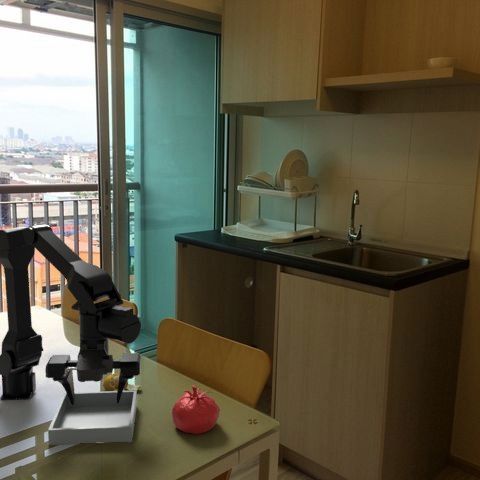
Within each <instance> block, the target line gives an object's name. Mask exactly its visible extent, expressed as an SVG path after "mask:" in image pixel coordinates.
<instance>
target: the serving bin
mask: <svg viewBox="0 0 480 480" xmlns="http://www.w3.org/2000/svg"><path fill="white" fill-rule="evenodd" d="M74 392H75V403H74V405H72V404H71V402H70V400H69V398H68V395H67V393H66V392H63V394H62V397H61V399H60V401H59V404H58V406H57V409H56V410H55V413H54V416H53V417H52V421H51V422H50V425H49V427H48V430H47V431H48V433H47V434H48V435H47V436H48V437H47V438H48V446H60V445H61V446H62V444H68V445H81V444H80V443H96V442H110V443H109V444H112V443H111V442H128V443H133V439H132V438H133V437H134V431H135V424H134V423H135V422H136V415H137V406H138V393H137V392H138V390H125V391H123V392H122V395H121V398H120V401H119V403H117V391H82V392H81V391H79V392H77V391H74ZM78 443H79V444H78Z"/></svg>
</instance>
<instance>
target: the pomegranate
mask: <svg viewBox="0 0 480 480" xmlns="http://www.w3.org/2000/svg"><path fill="white" fill-rule="evenodd" d="M191 389H192V391H190V390H186V389H182V391H183V392H184V394H183V395H181V396H180V397H179V398H178V399H177V401H175V402H174V405H173V407H172V412H171V416H172V422H173V425H174V426H175V427H176V429H178V430H179V431H182V432H183V433H187V434H188V433H189V434H193V435H200V434H204V433H206V432H209V431H210V430H211V429H213V428H214V427H215V426H216V425H217V422H218V419H219V418H220V410H221V409H220V406H219V405H218V404H217V403H216V401H215V400H214V399H213V398H212V397H210V396H209V395H207V394H206V393H211V394H212V393H213V391H204V392H199V391H200V390H201V388H200V387H197V386H196V385H195V384H194V385H192V386H191Z"/></svg>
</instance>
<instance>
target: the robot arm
mask: <svg viewBox="0 0 480 480" xmlns="http://www.w3.org/2000/svg"><path fill="white" fill-rule="evenodd" d="M36 250H37V251H38V253H40V255H42V256H43V257H44V259H45V260H47V261H48V262H49V263H50V264H51V265H52V267H54V268H55V269H56V270H57V271H58V272H59V273H60V274H61V275H62V276H63V277H64V278H65V280H66V285H67V289H68V290H69V292H70V294H72V297H74V299H75V301H76V302H75V303H74V304H72V306H71V309H72V310H73V311H78V314H79V315H78V319H79V351H78V355H77V360H76V359H75V360H73V359H71V355H70V354H52V356H51V357H50V358H49V359H48V361H47V363H46V365H45V370H44V371H45V378H47V379H52V380H53V382H58V383H59V384H61V386H62V388H63V389H64V390H65V393H67V395H68V398H69V400H70V402H71V404H72V405H74V403H75V392H76V391H75V383H74V374H73V373H74V372H73V371H76V376H77V381H78V382H80V383H85V382H94V383H97V382H100V381H103V379H104V378H103V377H104V375H107V376H108V374H113V371H114V370H115V369H116V370H118V369H119V371H120V372H119V373H120V375H119V383H118V391H117V403H119V401H120V398H121V395H122V392H123V389H124V386H125V384H126V382H127V381H128V380H132V379H134V378H135V377H134V376H140V374H141V367H142V355H141V354H140V353H138V352H136V353H135V352H134V353H133V352H130V353H128V352H125V353H122V354H121V358H116V359H114V356H113V354H110V349H109V346H110V345H109V342H110V341H109V339H111V340H114V341H117V342H121V343H125V344H127V345H128V344H132V343H133V342H135V341H136V340H137V339H138V337H139V335H140V333H141V330H142V329H141V328H142V324H141V320H140V318H139V316H138V315H136V314H134V308H133V307H129V306H127V307H124V306H123V305H124V301H123V299H122V295H121V293H120V292H119V291H118V289H117V287H116V285H115V284H114V283H115V282H114V281H113V278H112V276H111V275H110V273H109V272H107V271H106V270H104V269H102V268H101V267H99V266H98V265H95V264H92V263H89V262H86V261H85V260H83V258H81V257H80V256H79V255H78V254H77V253H76V252H75V251H74V250H72V248H70V246H69V245H67V244H66V242H64V241H63V240H62V239H61V238H60V237H59V236H58V235H57V234H56V233H55V232H54V230H53V228H52V227H51V226H50V225H48V224H44V223H43V224H35V225H30V226H28V227H26V226H18V227H12V228H5V229H4V228H3V229H0V264H1V265H2V267H3V269H4V270H3V271H4V283H5V284H4V286H5V298H6V299H5V300H6V310H7V327H8V328H7V332H6V333H5V336H4V338H3V339H2V342H1V354H0V376H1V387H2V394H1V395H0V401H4V400H5V401H7V400H28V399H30V398H31V397H32V395H33V394H34V393H35V390H36V388H37V382H36V372H34V367H37V366H39V365H40V360H41V358H42V355H43V354H42V353H43V352H44V348H43V336H42V335H41V334H39V333H37V332H36V330H35V329H34V328H33V322H32V308H31V293H30V291H31V290H30V279H29V276H30V274H29V266H30V263H31V262H32V260H33V258H34V256H35V253H36ZM107 298H108V299H107ZM103 299H105V300H103ZM100 300H102V301H100ZM97 301H98V302H97ZM128 382H129V381H128ZM124 390H125V389H124Z"/></svg>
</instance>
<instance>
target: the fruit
mask: <svg viewBox="0 0 480 480" xmlns="http://www.w3.org/2000/svg"><path fill="white" fill-rule="evenodd" d="M119 375H120V372H116V373H115V372H114V373H110V374H109V375H107V376H106V377H105V379H104V380H103V384H102V386H103V389H104V390H105V391H118V383H119ZM141 388H142V385H140V384H138V385H136V384H130V383H129V381H127V382H126V384H125V386H124V389H123V391H126V390H131V391H135V390H137V391H139V390H140V389H141Z"/></svg>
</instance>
